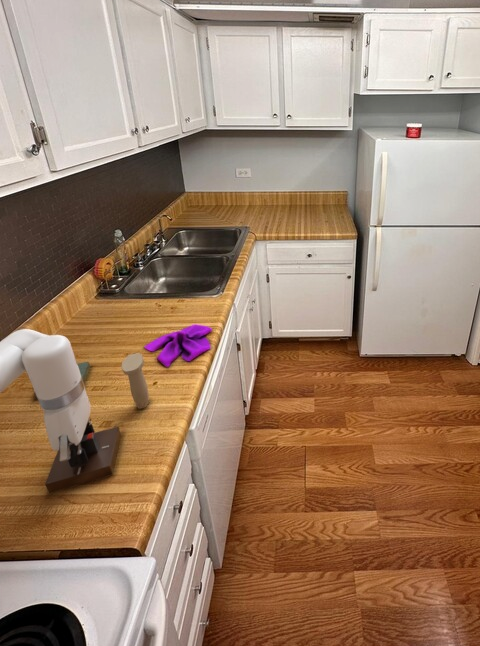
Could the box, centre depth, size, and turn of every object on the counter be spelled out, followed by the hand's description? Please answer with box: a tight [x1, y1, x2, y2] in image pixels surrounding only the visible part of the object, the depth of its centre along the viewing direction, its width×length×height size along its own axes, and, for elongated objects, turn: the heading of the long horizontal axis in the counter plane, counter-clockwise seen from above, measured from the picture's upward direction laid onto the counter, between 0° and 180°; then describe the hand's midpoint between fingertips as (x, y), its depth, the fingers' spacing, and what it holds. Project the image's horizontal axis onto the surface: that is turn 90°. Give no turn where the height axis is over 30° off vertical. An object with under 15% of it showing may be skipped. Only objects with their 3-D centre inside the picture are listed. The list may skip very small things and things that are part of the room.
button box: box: [33, 361, 91, 400], centre depth 97 cm, size 11×9×4 cm
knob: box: [70, 432, 99, 455], centre depth 75 cm, size 6×2×5 cm, turn 109°
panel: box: [44, 426, 122, 494], centre depth 76 cm, size 12×10×3 cm
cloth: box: [144, 324, 213, 368], centre depth 112 cm, size 22×19×6 cm
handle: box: [121, 352, 150, 410], centre depth 88 cm, size 5×6×15 cm
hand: (83, 450), depth 75 cm, fingers open, 5 cm apart
